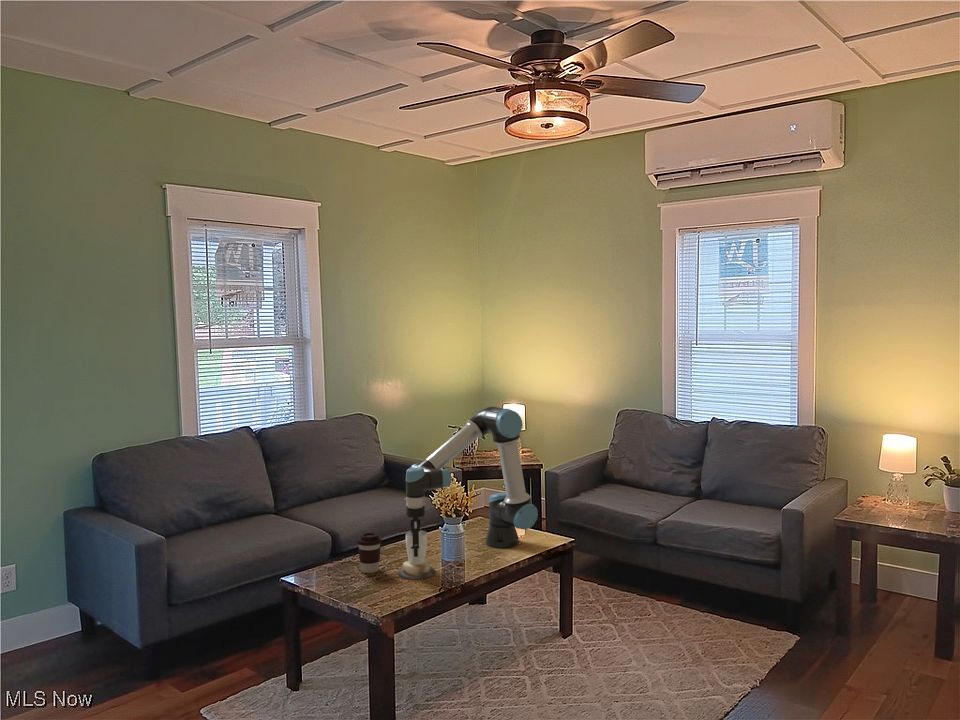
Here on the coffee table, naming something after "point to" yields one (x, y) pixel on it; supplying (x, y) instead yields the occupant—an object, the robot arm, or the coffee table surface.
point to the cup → (422, 546)
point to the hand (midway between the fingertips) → (415, 559)
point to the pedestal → (416, 571)
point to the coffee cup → (369, 552)
